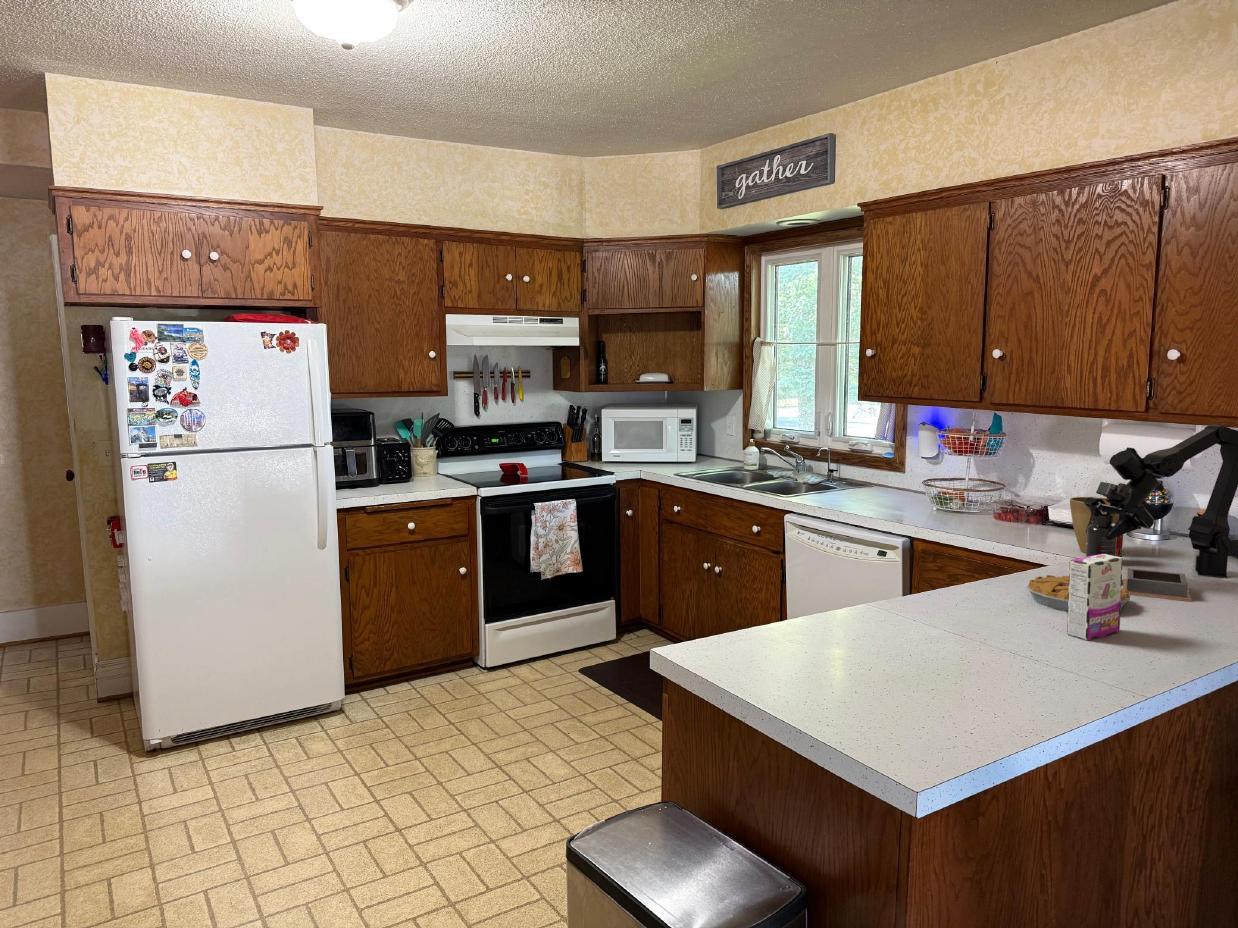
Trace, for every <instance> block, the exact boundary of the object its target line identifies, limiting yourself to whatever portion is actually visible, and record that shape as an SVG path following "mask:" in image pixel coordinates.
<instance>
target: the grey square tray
mask: <svg viewBox="0 0 1238 928" xmlns="http://www.w3.org/2000/svg"><path fill="white" fill-rule="evenodd" d="M1126 574H1127V575H1126V578H1122V588H1125V589H1127V590H1128V593H1129V594H1130V596H1138V597H1147V598H1155V599H1165V600H1174V601H1184V602H1192V596H1191V593H1190V590H1189V585H1188V581H1187V577H1186V574H1185V573H1178V572H1169V571H1168V572H1167V571H1157V570H1150V569H1149V570H1147V569H1139V568H1138V569H1137V568H1128V567H1127V573H1126Z"/></svg>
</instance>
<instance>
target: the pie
mask: <svg viewBox="0 0 1238 928" xmlns="http://www.w3.org/2000/svg"><path fill="white" fill-rule="evenodd" d="M1026 589H1027V590H1028V591H1029V592H1030V594H1031V596H1032V597H1031V598H1032V600H1034V602H1035V603H1036V602H1037V603H1036V604H1038V603H1039V604H1038V605H1041V606H1043V605H1044V607H1046V606H1047V608H1050V609H1055V610H1060V611H1064V612H1068V599H1069V598H1068V597H1069V575H1063V576H1054V575H1050V574H1047V575H1046V576H1045V577H1043V576H1036V577H1035V578H1034V579H1030V580H1029V582H1028V584H1027V586H1026ZM1130 598H1131V595H1130V594H1129V593H1128V590H1127V589H1125V588H1123V587H1122V588H1121V609H1120V611H1121V610H1122V608H1123V607H1124V606H1125V604H1126V603H1127V602H1129V601H1130V600H1131V599H1130Z"/></svg>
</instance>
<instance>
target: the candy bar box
mask: <svg viewBox="0 0 1238 928" xmlns="http://www.w3.org/2000/svg"><path fill="white" fill-rule="evenodd" d="M1123 559H1124V558H1123V556H1122V557H1117V556H1113V555H1108V554H1099V555H1093V556H1088V557H1086V556H1084V557H1078V558H1073V559H1070V560H1069V571H1068V572H1069V575H1068V576H1069V597H1068V598H1069V599H1068V611H1067V625H1066V634H1067V635H1068V636H1070V637H1073V638H1077V639H1080V640H1084V641H1085V640H1086V641H1090V640H1095V639H1099V638H1103V637H1107V636H1110V635H1114V634H1118V633H1121V631H1120V630H1121V629H1120V626H1121V610H1122V609H1121V588H1123V565H1124V564H1123V561H1124V560H1123ZM1120 609H1121V610H1120Z"/></svg>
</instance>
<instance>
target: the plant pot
mask: <svg viewBox="0 0 1238 928" xmlns="http://www.w3.org/2000/svg"><path fill="white" fill-rule="evenodd" d="M1088 497H1089V496H1075V497H1074V496H1073V497H1070V498H1069V506H1070V513H1071V521H1072V526H1073V530H1074V531H1073V532H1074V534H1075V537H1076V542H1077V545H1078V548H1079V550H1080V552H1082V553H1085V554H1086V540H1087V533H1086V529H1087V526H1088V523H1089V520H1090V517H1091V511H1090V510H1089V509H1088V508H1087V506H1086V505H1085V504H1084V501H1085V500H1086V499H1087V498H1088ZM1095 498H1098V497H1096V496H1095ZM1099 498H1100V499H1102V500H1103V501H1104V502H1105V503H1106V504H1107V505H1110V503H1109V502H1107V501H1106V498H1107V497H1099ZM1111 516H1113V524H1116V522H1117V521H1118V520H1119V516H1118V515H1115V514H1111Z"/></svg>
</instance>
